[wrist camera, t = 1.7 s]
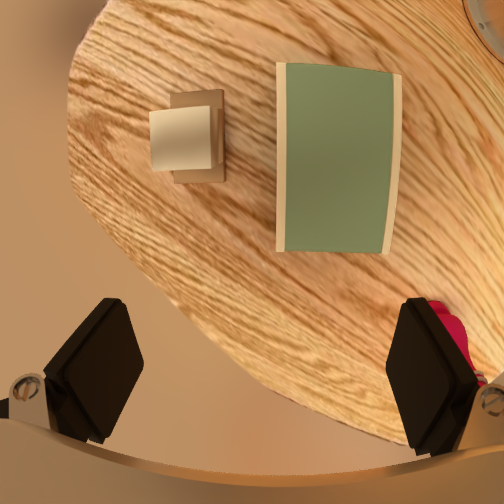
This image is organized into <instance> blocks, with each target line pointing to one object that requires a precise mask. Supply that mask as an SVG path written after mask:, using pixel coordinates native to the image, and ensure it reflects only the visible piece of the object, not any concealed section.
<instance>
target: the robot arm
mask: <svg viewBox="0 0 504 504" xmlns="http://www.w3.org/2000/svg"><path fill="white" fill-rule="evenodd" d="M463 2H464V7H465V10H466V13H467V16H468V18H469V20H470V23H471V25H472V27H473V28H474V30H475V32H476V33H477V35H478V37H479V38H480V39H481V41H482V42H483V44H484V45H485V46H486V47H487V48H488V50H489V51H490V52H491V53H492V54H493V55H494V56H495V57H496V58H497V59H498V60H500V61H501V62H502V63H504V0H463ZM143 366H144V361H143V358H142V354H141V352H140V349H139V346H138V343H137V340H136V337H135V333H134V330H133V327H132V324H131V321H130V317H129V314H128V311H127V307H126V305H125V304H124V303H122V301H121V300H120V299H117V298H104V299H103V300H102V301H101V302H100V303H99V304H98V305H97V307H95V309H94V310H93V311H92V312H91V313H90V314H89V316H88V317H87V318H86V319H85V320H84V321H83V322H82V323H81V325H80V326H79V327H78V328H77V329H76V330H75V332H74V333H73V334H72V335H71V336H70V337H69V339H68V340H67V341H66V342H65V343H64V345H63V346H62V347H61V348H60V350H59V351H58V352H57V353H56V354H55V356H54V357H53V358H52V360H51V361H50V362H49V363H48V364H47V366H46V367H45V368H44V370H43V371H44V373H45V375H46V377H45V379H43V378H42V377H41V376H40V375H38V374H35V373H30V374H25V375H23V376H21V377H19V378H18V379H16V380H15V382H14V383H13V384H12V386H11V388H10V391H9V398H6V399H3V400H0V504H504V387H503V386H501V385H499V384H493V383H492V384H486V385H483V386H482V387H481V388H480V386H479V384H478V378H477V376H476V375H475V373H474V371H473V370H472V368H471V366H470V365H469V363H468V361H467V360H466V358H465V357H464V355H463V353H462V352H461V350H460V349H459V347H458V346H457V344H456V342H455V341H454V339H453V338H452V336H451V335H450V333H449V332H448V330H447V329H446V327H445V326H444V324H443V323H442V321H441V320H440V319H439V317H438V316H437V314H436V313H435V311H434V310H433V309H432V307H431V306H430V304H429V303H428V302H427V300H426V299H425V298H423V297H420V298H409V299H407V301H406V303H403V304H402V305H401V309H400V313H399V317H398V322H397V326H396V329H395V333H394V337H393V341H392V344H391V348H390V351H389V355H388V358H387V362H386V373H387V376H388V379H389V382H390V385H391V388H392V391H393V394H394V397H395V400H396V403H397V406H398V409H399V413H400V416H401V419H402V422H403V426H404V429H405V432H406V436H407V439H408V443H409V446H410V447H411V448H412V449H413V448H414V449H415V452H416V455H417V456H419V455H423V454H427V453H430V455H431V457H430V458H425V459H421V460H417V461H412V462H408V463H403V464H398V465H392V466H386V467H381V468H375V469H368V470H360V471H353V472H343V473H334V474H333V473H332V474H318V475H297V476H296V475H292V476H291V475H290V476H276V475H274V476H272V475H247V474H246V475H245V474H233V473H222V472H212V471H204V470H197V469H190V468H184V467H178V466H172V465H167V464H162V463H157V462H152V461H148V460H144V459H139V458H135V457H131V456H127V455H124V454H120V453H116V452H113V451H109V450H106V449H103V448H100V447H97V446H94V445H91V444H88V443H86V442H87V440H88V439H89V440H90V441H93V442H96V443H99V444H103V442H104V440H105V438H108V437H109V436H110V435H111V433H112V431H113V429H114V426H115V424H116V422H117V420H118V418H119V416H120V414H121V412H122V410H123V408H124V406H125V404H126V402H127V400H128V398H129V396H130V394H131V392H132V389H133V388H134V385H135V384H136V382H137V380H138V378H139V376H140V374H141V372H142V370H143Z"/></svg>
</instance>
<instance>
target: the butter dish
mask: <svg viewBox="0 0 504 504" xmlns="http://www.w3.org/2000/svg"><path fill="white" fill-rule="evenodd" d="M170 101H171V109H168V110H160V111H152V112H149V118H150V142H151V159H152V171H168V170H173V174H174V184H179V183H220V182H225V181H226V171H225V131H224V90H222V89H216V90H203V91H192V92H183V93H175V94H170Z"/></svg>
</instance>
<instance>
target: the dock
mask: <svg viewBox="0 0 504 504" xmlns="http://www.w3.org/2000/svg"><path fill="white" fill-rule="evenodd" d="M276 87H277V204H276V252H284V251H312V252H348V253H381V255H389V252H390V246H391V239H392V233H393V226H394V219H395V211H396V203H397V193H398V183H399V172H400V158H401V138H402V75H401V74H395V73H393V74H391V73H386V72H380V71H374V70H367V69H360V68H352V67H343V66H332V65H320V64H302V63H286V62H276Z"/></svg>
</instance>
